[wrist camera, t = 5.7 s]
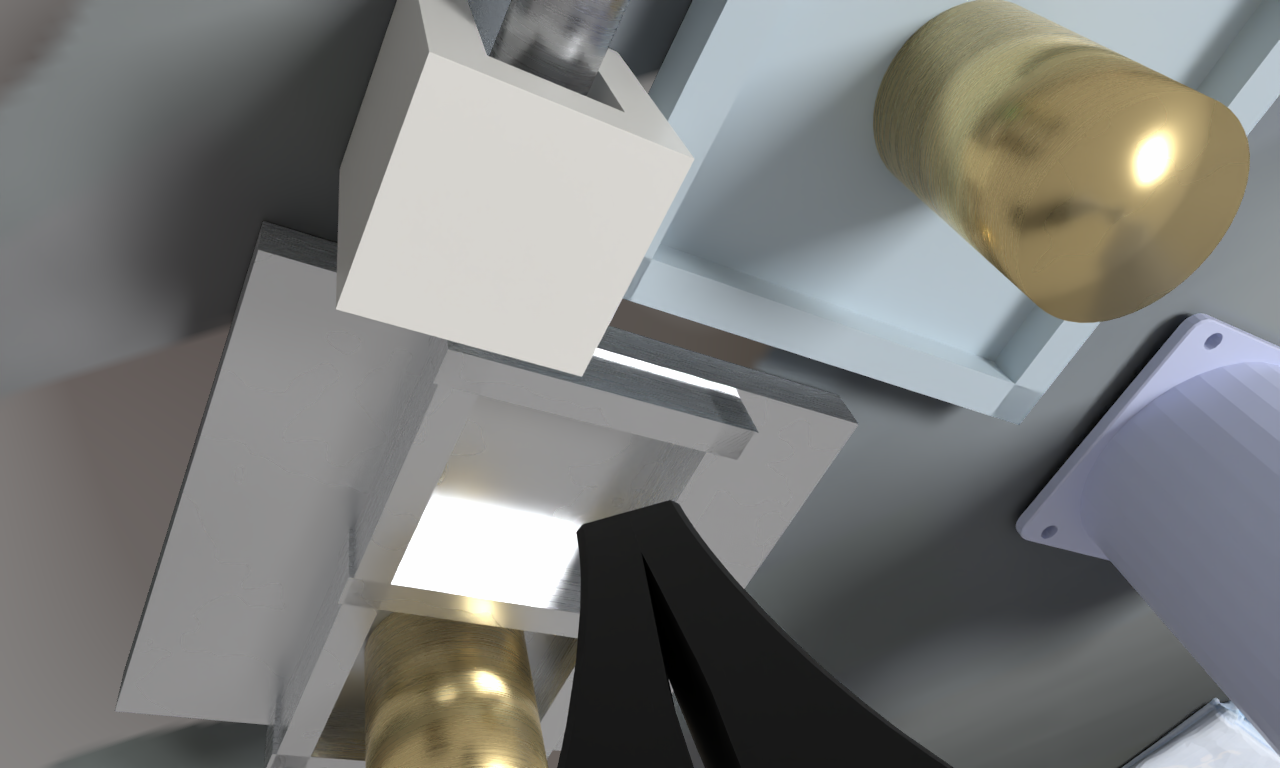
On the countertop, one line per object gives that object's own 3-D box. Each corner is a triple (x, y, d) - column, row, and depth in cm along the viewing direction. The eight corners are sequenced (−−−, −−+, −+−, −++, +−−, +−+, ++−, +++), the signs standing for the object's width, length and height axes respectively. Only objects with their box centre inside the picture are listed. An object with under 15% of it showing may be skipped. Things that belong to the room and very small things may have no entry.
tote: (1334, -67, 20) (1394, -52, 19) (988, 390, 26) (1019, 424, 24) (890, -415, 15) (937, -423, 14) (572, 251, 20) (585, 286, 19)
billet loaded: (548, 606, 25) (590, 804, 20) (490, 708, 26) (517, 909, 22) (394, 582, 23) (404, 792, 19) (343, 692, 25) (341, 907, 20)
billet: (1091, 47, 20) (1297, 148, 16) (977, 215, 22) (1133, 348, 17) (948, -36, 18) (1135, 51, 14) (837, 153, 20) (971, 283, 16)
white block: (617, 52, 18) (695, 159, 14) (534, 234, 20) (582, 376, 16) (410, -40, 16) (429, 52, 12) (340, 169, 18) (335, 309, 14)
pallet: (839, 395, 24) (885, 463, 22) (619, 722, 30) (639, 801, 28) (263, 220, 18) (251, 291, 16) (123, 671, 24) (102, 766, 22)
